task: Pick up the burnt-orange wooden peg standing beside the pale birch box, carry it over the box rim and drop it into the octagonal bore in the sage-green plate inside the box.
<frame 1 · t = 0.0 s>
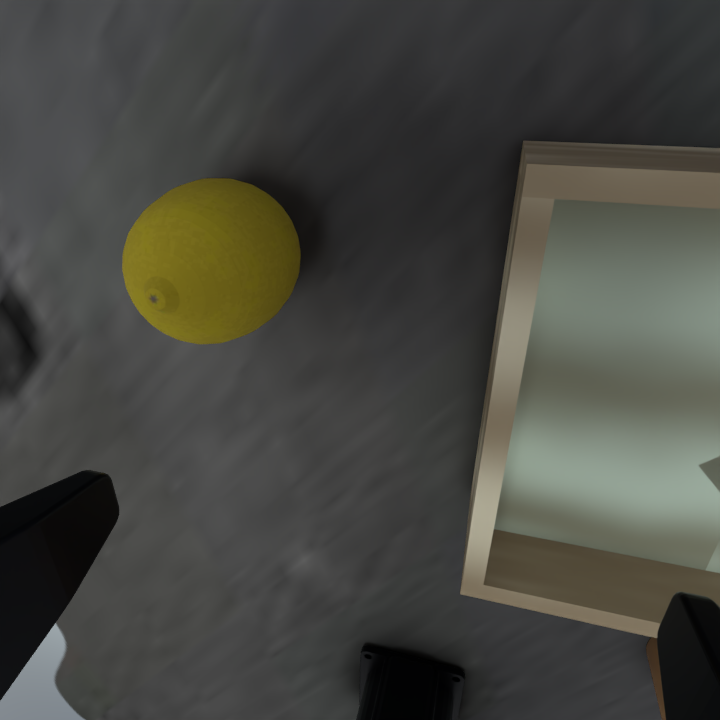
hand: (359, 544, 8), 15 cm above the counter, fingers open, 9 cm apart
peg: (689, 652, 27), on the counter
lemon: (266, 231, 22), on the counter
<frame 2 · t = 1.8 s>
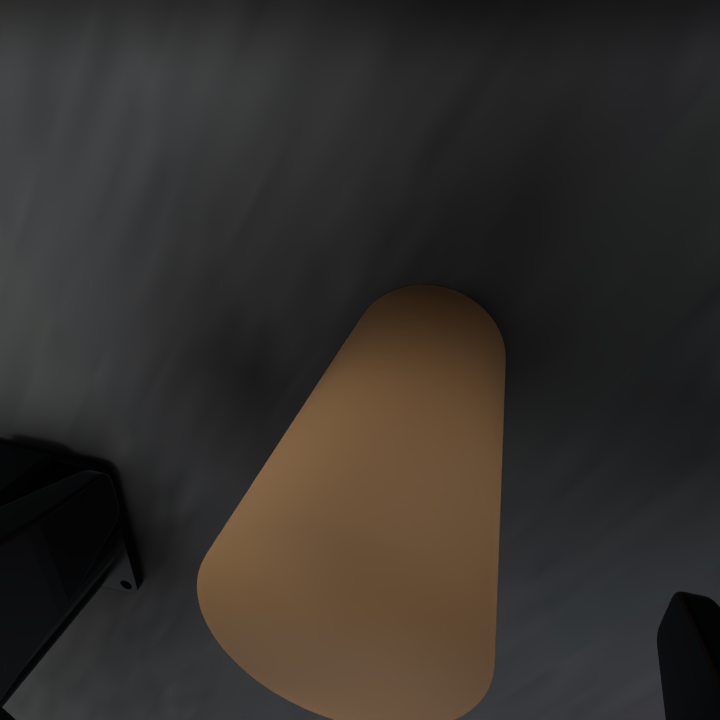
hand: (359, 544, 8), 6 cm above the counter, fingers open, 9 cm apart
peg: (426, 357, 14), on the counter
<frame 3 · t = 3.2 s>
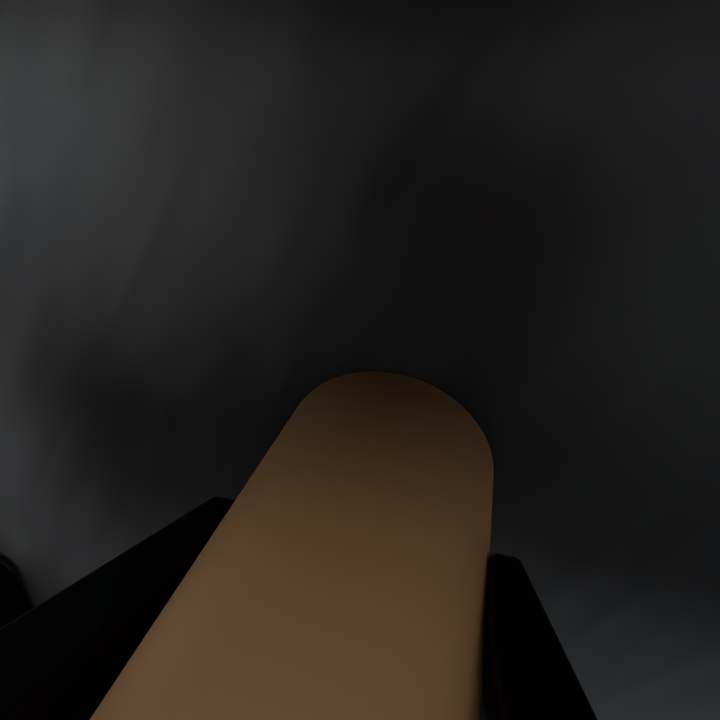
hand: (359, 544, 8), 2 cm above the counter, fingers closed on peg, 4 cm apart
peg: (385, 463, 10), on the counter, touching gripper
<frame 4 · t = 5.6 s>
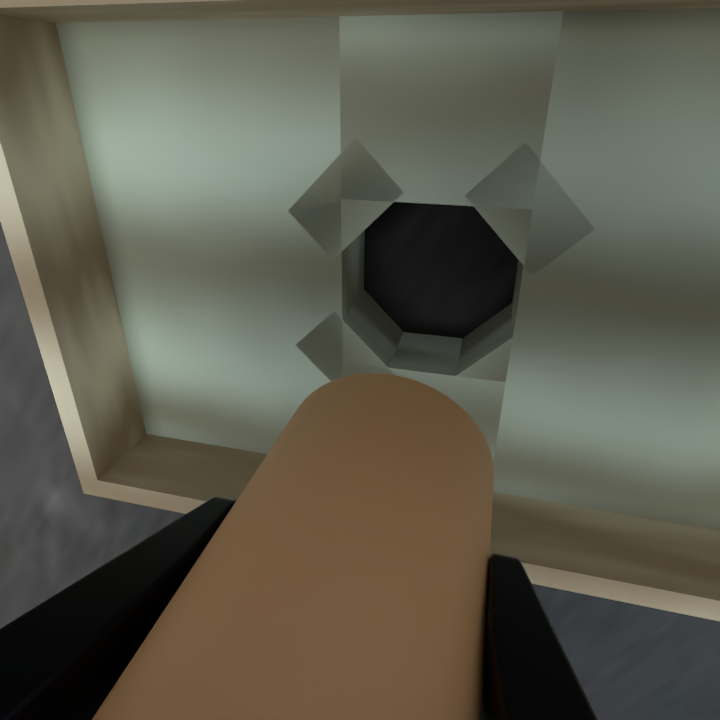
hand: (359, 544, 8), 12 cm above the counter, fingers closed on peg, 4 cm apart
box: (438, 265, 19), on the counter
peg: (385, 465, 10), point 10 cm above the counter, touching gripper
when the fingers open (3 cm above the counter, at t = 8.3 s): peg drops 2 cm, resting in box.
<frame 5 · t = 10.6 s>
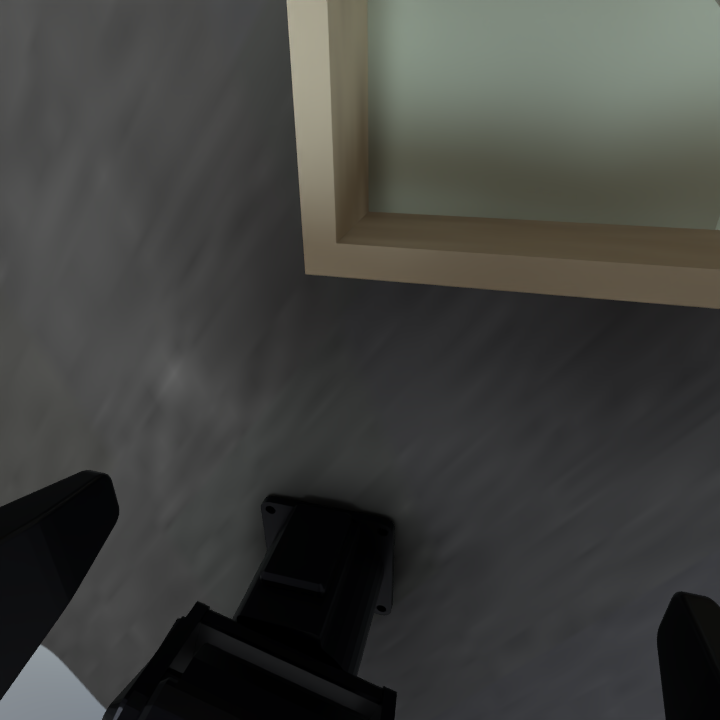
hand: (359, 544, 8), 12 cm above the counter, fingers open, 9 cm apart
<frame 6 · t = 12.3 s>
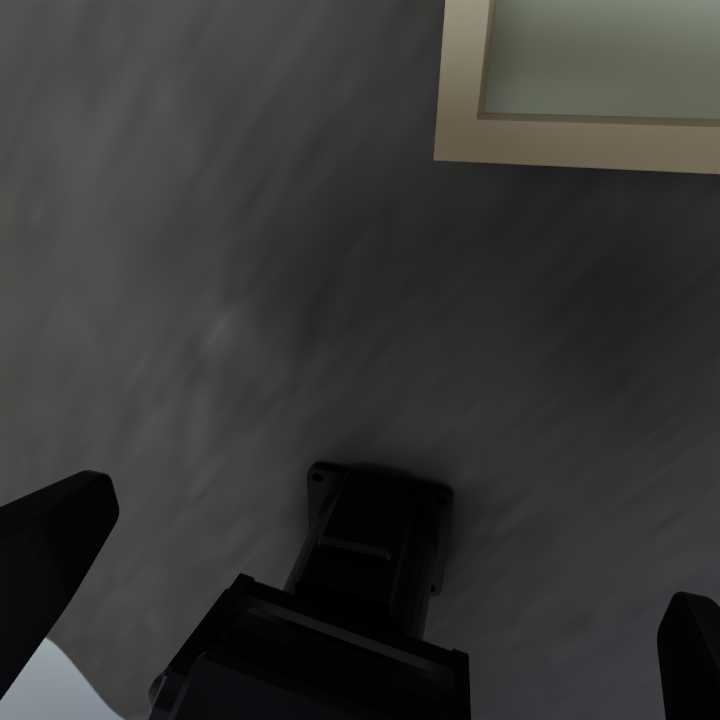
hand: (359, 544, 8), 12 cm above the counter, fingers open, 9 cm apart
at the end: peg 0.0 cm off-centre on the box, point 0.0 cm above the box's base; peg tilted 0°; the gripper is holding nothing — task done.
